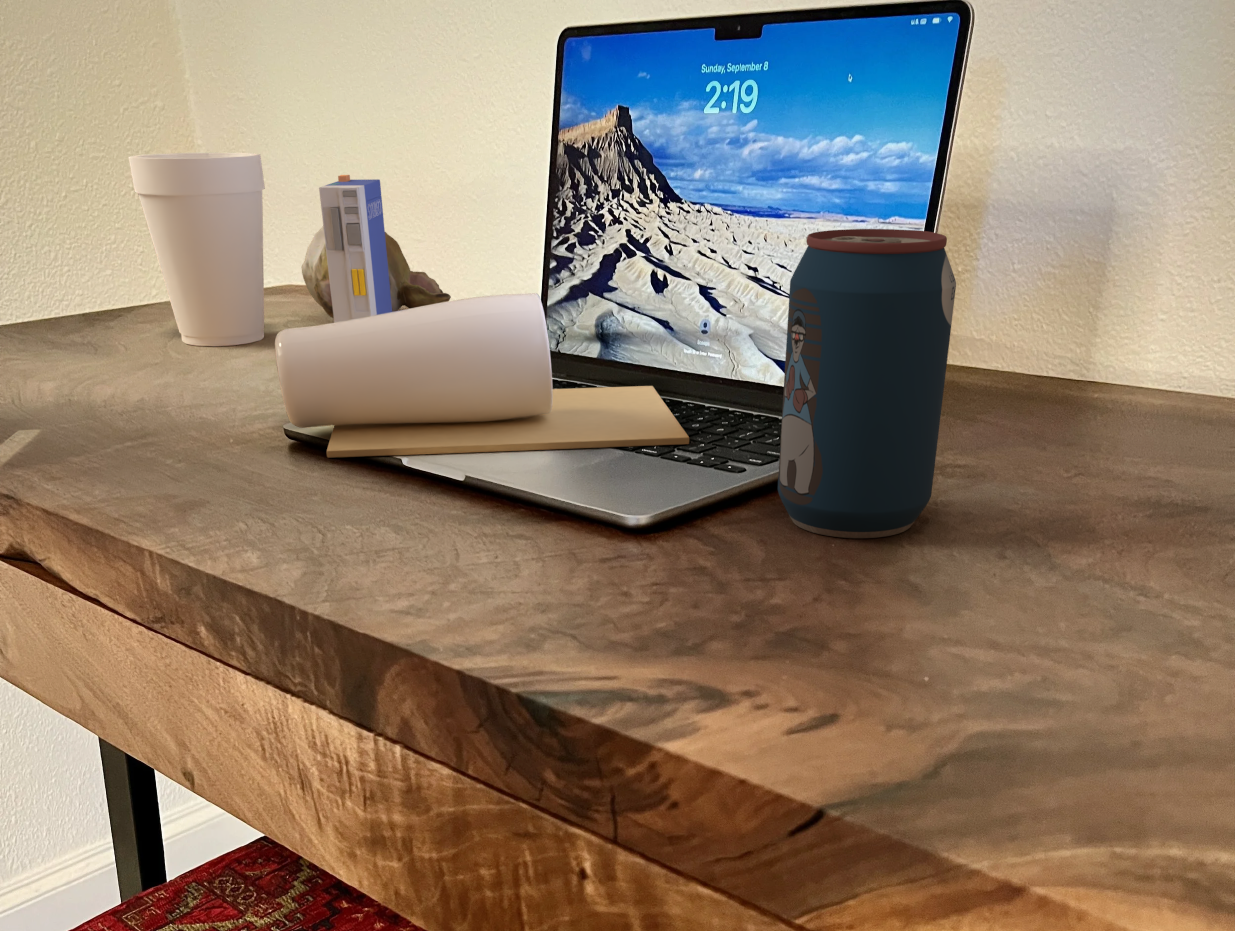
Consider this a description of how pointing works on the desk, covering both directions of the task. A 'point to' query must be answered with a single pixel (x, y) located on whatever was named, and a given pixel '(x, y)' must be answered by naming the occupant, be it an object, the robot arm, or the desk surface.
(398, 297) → the ceramic sculpture
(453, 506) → the desk surface
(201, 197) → the foam cup
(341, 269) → the walkman
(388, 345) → the white tumbler
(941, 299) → the soda can
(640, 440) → the cork mat
